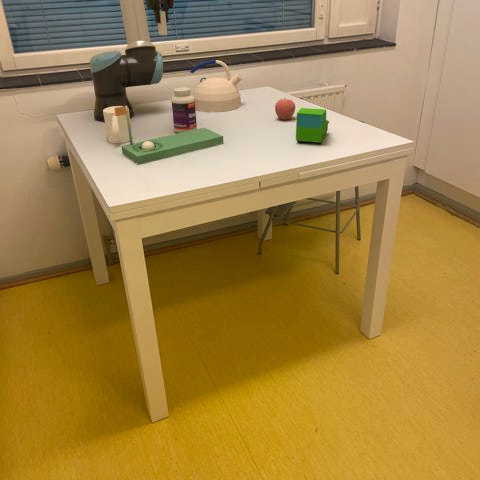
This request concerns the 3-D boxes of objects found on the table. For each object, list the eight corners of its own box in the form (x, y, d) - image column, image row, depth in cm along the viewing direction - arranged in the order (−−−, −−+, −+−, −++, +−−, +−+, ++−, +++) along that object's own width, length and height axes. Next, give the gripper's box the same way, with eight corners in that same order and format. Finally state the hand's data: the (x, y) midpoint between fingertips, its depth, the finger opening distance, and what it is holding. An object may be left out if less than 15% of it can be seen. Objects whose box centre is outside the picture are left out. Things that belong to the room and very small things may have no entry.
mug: (129, 105, 160) (126, 114, 150) (133, 135, 165) (130, 146, 155) (104, 106, 159) (99, 116, 149) (109, 136, 165) (104, 148, 154)
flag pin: (120, 146, 147) (114, 107, 141) (132, 144, 149) (126, 105, 143) (121, 147, 147) (115, 108, 141) (133, 144, 149) (127, 106, 143)
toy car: (331, 133, 161) (333, 104, 156) (324, 146, 151) (326, 114, 145) (301, 131, 164) (302, 102, 159) (292, 143, 154) (293, 112, 148)
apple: (272, 121, 176) (272, 99, 172) (278, 115, 181) (278, 94, 177) (291, 122, 173) (292, 100, 169) (297, 117, 179) (297, 95, 175)
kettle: (242, 112, 188) (240, 64, 179) (189, 113, 188) (185, 65, 179) (242, 99, 205) (241, 54, 196) (194, 100, 206) (191, 56, 197)
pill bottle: (193, 134, 164) (190, 92, 157) (171, 133, 165) (166, 91, 158) (199, 127, 171) (196, 86, 163) (178, 127, 172) (174, 86, 165)
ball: (147, 156, 150) (137, 149, 147) (153, 146, 150) (143, 138, 148) (153, 156, 147) (142, 149, 144) (159, 145, 147) (148, 138, 145)
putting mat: (122, 153, 149) (121, 145, 148) (204, 134, 164) (204, 127, 162) (138, 164, 141) (137, 156, 139) (223, 143, 155) (223, 136, 154)
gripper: (138, -57, 128) (148, 38, 140) (180, -57, 134) (187, 33, 146) (127, -56, 133) (138, 35, 145) (168, -56, 139) (176, 31, 151)
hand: (163, 34), depth 145 cm, fingers closed
